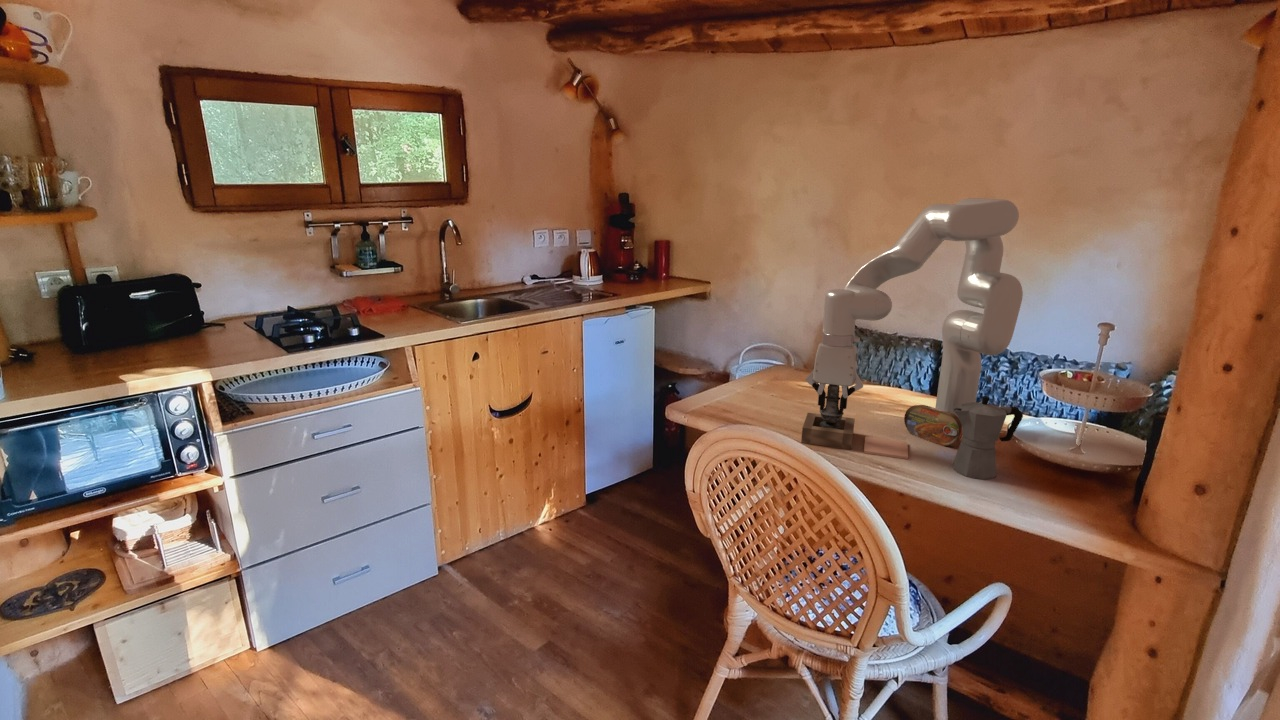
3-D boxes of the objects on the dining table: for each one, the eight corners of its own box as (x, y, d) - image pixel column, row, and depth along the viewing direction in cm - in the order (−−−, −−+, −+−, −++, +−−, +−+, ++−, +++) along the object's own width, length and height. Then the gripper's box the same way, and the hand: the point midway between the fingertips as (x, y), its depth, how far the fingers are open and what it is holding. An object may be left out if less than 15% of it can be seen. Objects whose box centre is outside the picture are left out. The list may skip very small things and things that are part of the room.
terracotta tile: (906, 444, 162) (907, 441, 162) (907, 459, 153) (908, 456, 153) (864, 438, 166) (865, 436, 165) (863, 452, 157) (863, 450, 156)
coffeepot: (954, 479, 143) (966, 402, 138) (936, 462, 152) (946, 389, 147) (1024, 480, 143) (1038, 403, 138) (1001, 463, 152) (1014, 390, 147)
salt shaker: (814, 422, 167) (817, 378, 164) (834, 420, 169) (837, 376, 165) (826, 430, 162) (830, 384, 158) (847, 428, 163) (851, 382, 160)
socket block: (853, 432, 169) (854, 418, 168) (851, 449, 158) (852, 434, 157) (806, 426, 173) (807, 412, 172) (801, 442, 162) (802, 427, 161)
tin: (901, 431, 171) (905, 401, 169) (909, 429, 173) (912, 399, 170) (955, 450, 159) (960, 418, 157) (962, 448, 161) (967, 416, 158)
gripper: (874, 340, 159) (868, 410, 164) (806, 333, 166) (801, 400, 171) (871, 346, 152) (864, 419, 157) (800, 339, 159) (795, 409, 164)
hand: (831, 409), depth 164 cm, fingers closed on salt shaker, 4 cm apart
